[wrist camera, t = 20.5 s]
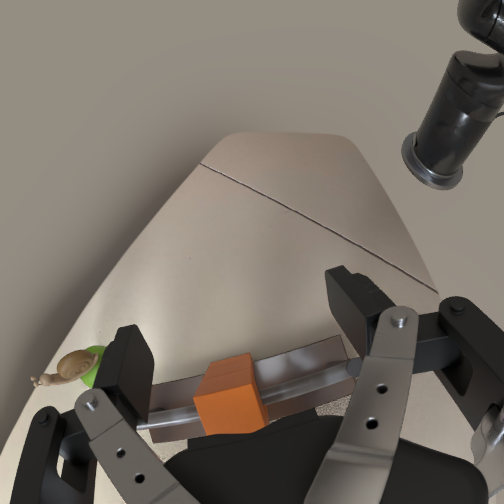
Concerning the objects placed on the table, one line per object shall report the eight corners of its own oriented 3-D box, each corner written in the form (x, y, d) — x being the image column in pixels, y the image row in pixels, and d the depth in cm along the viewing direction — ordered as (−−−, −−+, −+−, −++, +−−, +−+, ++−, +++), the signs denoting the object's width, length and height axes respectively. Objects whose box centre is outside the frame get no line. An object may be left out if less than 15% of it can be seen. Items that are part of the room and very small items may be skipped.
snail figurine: (80, 368, 34) (20, 359, 23) (112, 339, 35) (56, 322, 24) (102, 402, 32) (44, 406, 21) (136, 374, 34) (83, 370, 23)
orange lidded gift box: (250, 352, 29) (252, 383, 19) (265, 402, 29) (275, 453, 18) (210, 362, 29) (192, 397, 18) (227, 412, 29) (218, 465, 18)
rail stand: (337, 335, 34) (364, 319, 24) (355, 390, 32) (389, 396, 22) (141, 387, 33) (96, 389, 23) (156, 441, 31) (116, 462, 21)
